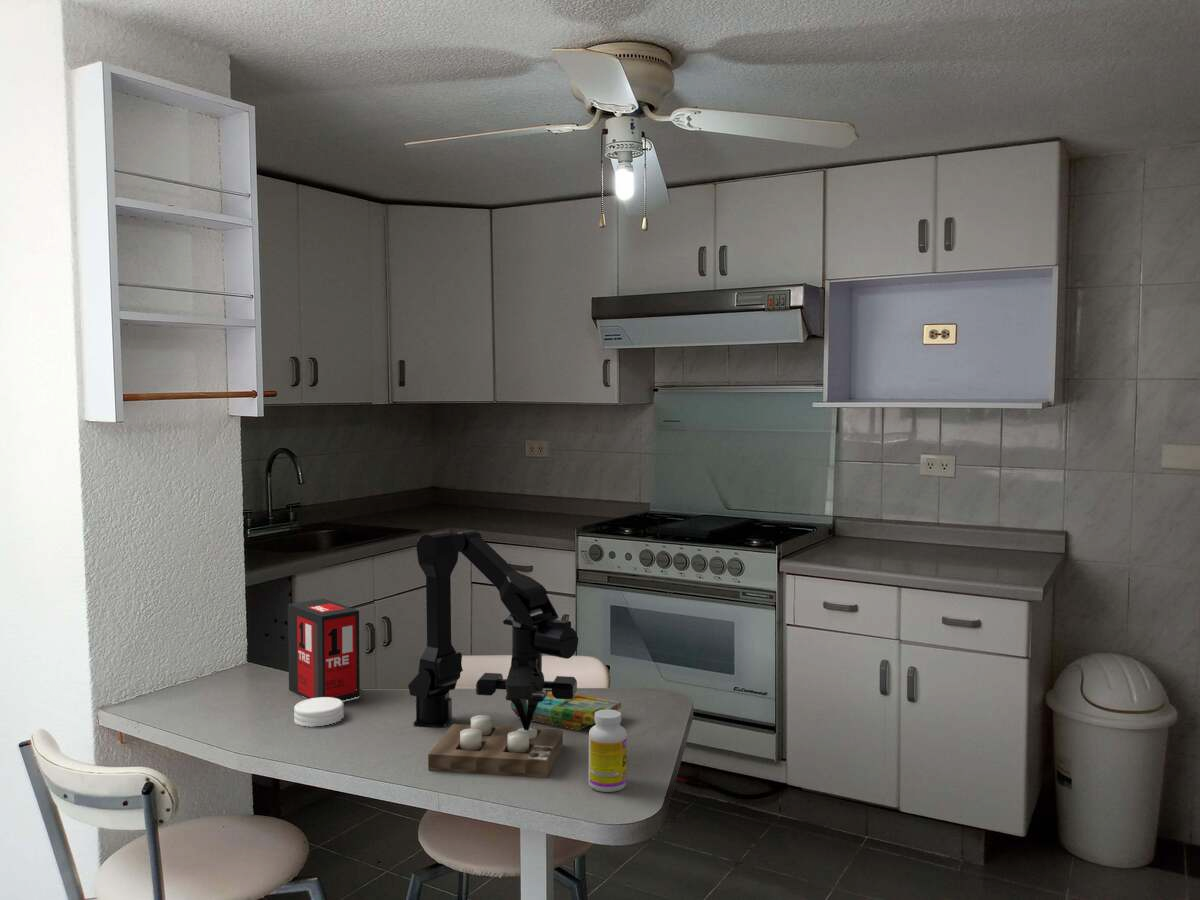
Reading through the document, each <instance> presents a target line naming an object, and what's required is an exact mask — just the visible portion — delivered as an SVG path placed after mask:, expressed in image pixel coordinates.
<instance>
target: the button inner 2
mask: <svg viewBox="0 0 1200 900" xmlns="http://www.w3.org/2000/svg"><path fill="white" fill-rule="evenodd" d="M534 728H535V727H530V728H529V730H524V728H523V727H521V728H520V729H518V730H517V731H525V732H528V733H529V738H530V739H537V730H536V729H534Z"/></svg>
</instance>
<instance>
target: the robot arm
mask: <svg viewBox="0 0 1200 900" xmlns="http://www.w3.org/2000/svg"><path fill="white" fill-rule="evenodd" d="M459 553H461V554H462V555H463V556H464V557H465V558H466V559H467V560H468V561H469V562H470V563H471V564H472V565H473V566H474V567H475V568H476V569H477V570H478V571H479V572H480V573H481V574H482V575H483V576H485V578H486V579H487V581H489V582H490V583H491V584H492V585H493V586H494V587H495V588H496V589H497V591H499V598H500V601H501V602H502V604H503V605H504V606H505V608H506V609H507V610H508V612H509V613H510V614H509V615H508V616H507V617H506V618H505V619H504V620H503V621H502V623H503V625H507V626H510V627H511V658H510V659H511V661H510V668H509V671H508V675H507V676H506V677H507V678H505V679H504V676H503V674H502V673H501V672H500V673H497V672H496V673H495V672H484V673H483V674H482V675H481V676H480V677H479V679H477V680H476V684H475V694H476V695H477V696H489V697H490V696H493V695H494V694H495V693H496V691H497V690H506V691H505V692H506V696H505V700H506V701H510V703H511V702H512V703H513V704H514V705H515V707H516V709H517V711H518V714H519V717H520V718H519V717H518V718H519V719H520V722H521V725H522V728H524V730H529V728H531V724H532V722H533V721H532V719H533V716H534V713H535V710H536V707H537V705H538V703H539V702H542V701H544V699H545V697H546V696H547V694H548V692H552V695H553V696H554V697H555V698H556V699H573V697H574V695H575V693H576V694H577V691H578V681H577V679H576V677H575V676H565V675H564V676H563V675H556V677H555V679H554V680H553V681H550V680H545V675H544V673H543V669H542V668H543V666H542V665H543V655H547V656H552V657H558V658H560V659H561V658H562V659H566V660H567V659H570V658H572V657H573V656H574V655H575V653H576V652H577V649H578V645H579V637H578V634H577V632H576V630H575V628H573V627H572V622H571V620H561V619H559V615H558V613H557V612H556V608H555V607H554V606H553V604H552V602H551V599H550V598H549V596H548V591H547V590H546V589H547V588H545V586H543V585H542V584H541V583H540V582H539V581H537V580H536V579H534V578H532V577H531V576H527V575H526V574H523V573H521V572H518V571H517V570H515V569H514V568H513V567H512V566H511V565H510V564H509V563H508V562H507V561H506V560H505V558H503V557H502V556H501V555H500V554H499V553H498V552H497V551H496V550H495V549H493V548H492V546H490V544H489V543H487V541H485V540H484V539H483V538H482V535H481V533H480V532H479V531H477V530H473V529H472V530H465V531H459V532H457V533H455V534H454V533H453V532H451V531H448V530H447V531H439V532H433V533H428V534H427V533H426V534H423V535H422V536H420V538H419V539H418V540H417V542H416V554H417V560H418V561H417V562H418V565H419V567H420V568H421V571H422V572H423V574H424V575H425V582H426V583H425V586H426V587H425V590H426V592H425V593H426V594H425V595H426V598H425V599H426V647H425V649H424V650H423V653H422V655H421V657H420V658H419V665H418V673H417V674H416V676H415V677H414V678H413V679H412V680H411V682H410V683H408V691H409V695H410V696H412V697H415V706H416V707H415V710H416V714H415V715H416V716H415V718H416V719H415V720H414V722H413V724H412V725H413V726H418V727H419V726H421V727H441V728H442V727H445V726H446V724H448V722H449V721H450V720H451V719H452V718H453V700H452V697H450V691H452V690H455V689H456V687H457V682H458V680H460V678H461V672H464V669H463V666H462V665H463V663H462V662H463V661H462V660H463V654H462V652H459V651H458V652H457V651H456V649H455V648H454V646H453V643H452V600H451V599H452V597H451V596H452V595H451V594H452V592H451V587H452V584H451V583H452V581H451V580H452V579H451V578H452V573H453V571H454V569H455V568H456V565H457V563H458V560H459ZM540 612H541V613H540ZM533 614H534V615H533ZM527 700H528V710H527Z"/></svg>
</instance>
